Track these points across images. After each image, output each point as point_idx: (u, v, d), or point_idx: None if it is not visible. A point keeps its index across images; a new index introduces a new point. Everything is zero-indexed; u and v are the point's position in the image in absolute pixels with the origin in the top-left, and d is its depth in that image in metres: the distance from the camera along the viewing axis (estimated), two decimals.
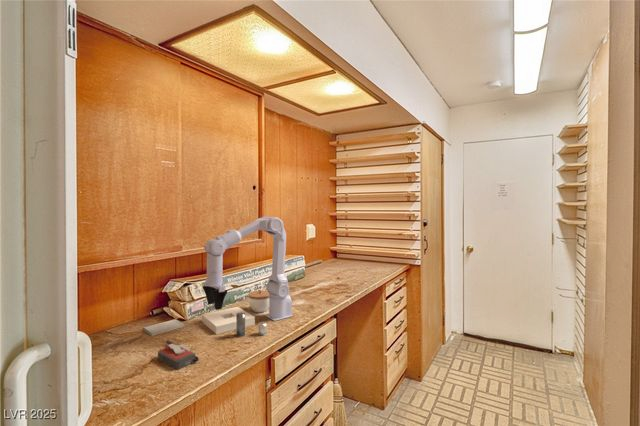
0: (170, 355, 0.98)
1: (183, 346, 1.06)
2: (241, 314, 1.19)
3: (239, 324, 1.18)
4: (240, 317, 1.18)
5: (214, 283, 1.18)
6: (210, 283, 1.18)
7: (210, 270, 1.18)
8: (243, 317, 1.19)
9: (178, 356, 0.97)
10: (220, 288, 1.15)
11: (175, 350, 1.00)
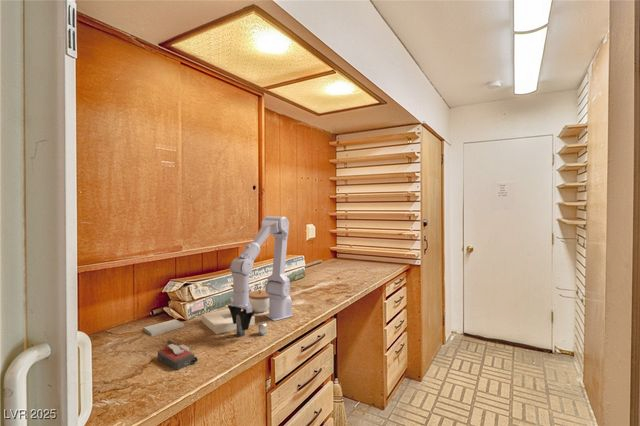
0: (169, 355, 0.98)
1: (183, 346, 1.06)
2: None
3: (239, 324, 1.18)
4: None
5: (241, 303, 1.17)
6: (237, 303, 1.17)
7: (240, 290, 1.16)
8: None
9: (177, 356, 0.97)
10: (248, 309, 1.13)
11: (174, 350, 0.99)
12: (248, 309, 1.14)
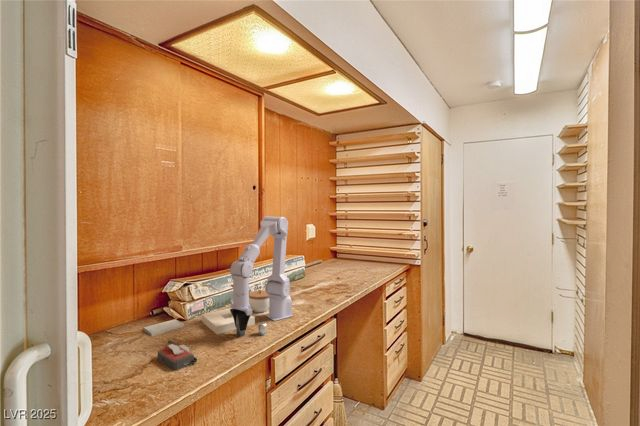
0: (169, 355, 0.98)
1: (183, 346, 1.05)
2: None
3: None
4: None
5: (241, 306, 1.17)
6: (237, 306, 1.17)
7: (240, 293, 1.16)
8: None
9: (176, 357, 0.97)
10: (248, 311, 1.14)
11: (174, 350, 0.99)
12: (248, 312, 1.14)
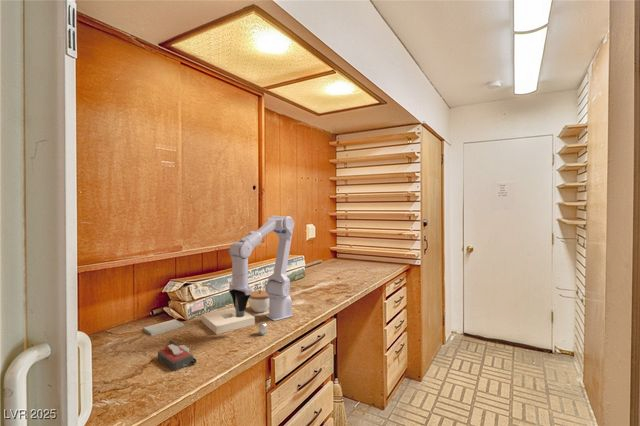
0: (168, 356, 0.98)
1: (183, 347, 1.05)
2: None
3: None
4: None
5: (240, 286, 1.17)
6: (236, 286, 1.17)
7: (238, 273, 1.17)
8: None
9: (176, 357, 0.97)
10: (247, 291, 1.14)
11: (174, 351, 0.99)
12: (247, 291, 1.14)
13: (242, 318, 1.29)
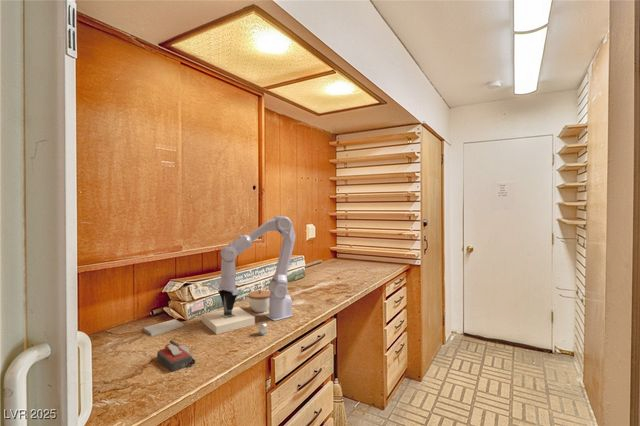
0: (167, 356, 0.98)
1: (183, 347, 1.05)
2: None
3: None
4: None
5: (228, 287, 1.28)
6: (224, 287, 1.28)
7: (223, 275, 1.28)
8: None
9: (174, 358, 0.96)
10: (234, 291, 1.25)
11: (173, 351, 0.99)
12: (234, 292, 1.25)
13: (242, 318, 1.29)
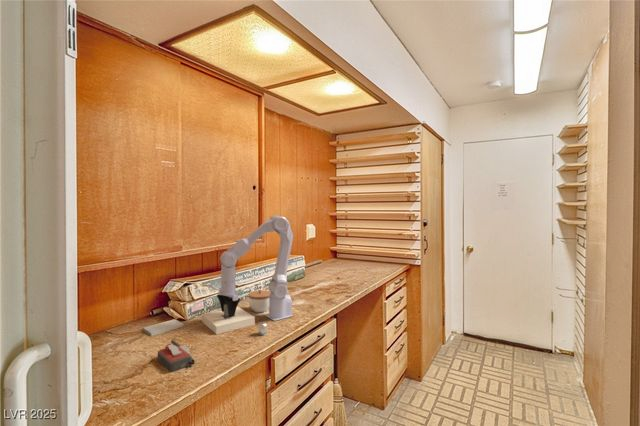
0: (167, 356, 0.97)
1: (184, 347, 1.05)
2: None
3: (226, 312, 1.30)
4: None
5: (228, 292, 1.28)
6: (224, 292, 1.28)
7: (222, 280, 1.28)
8: None
9: (174, 358, 0.96)
10: (234, 297, 1.25)
11: (173, 351, 0.99)
12: (234, 297, 1.25)
13: (242, 318, 1.29)
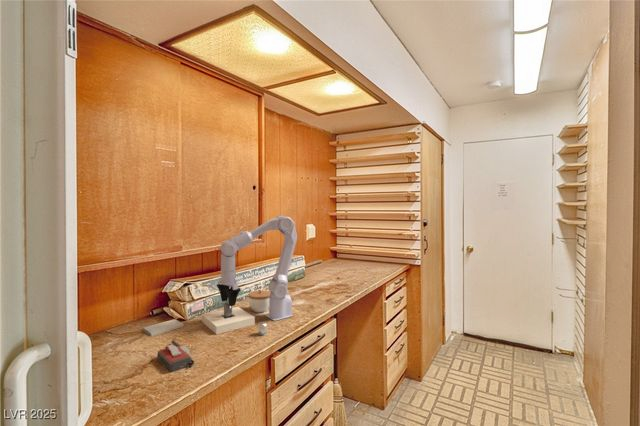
0: (167, 356, 0.97)
1: (184, 348, 1.05)
2: (228, 304, 1.31)
3: (226, 312, 1.30)
4: (227, 306, 1.30)
5: (228, 281, 1.28)
6: (224, 281, 1.28)
7: (223, 269, 1.28)
8: (230, 306, 1.30)
9: (173, 358, 0.96)
10: (234, 286, 1.25)
11: (172, 352, 0.99)
12: (234, 286, 1.25)
13: (242, 318, 1.29)
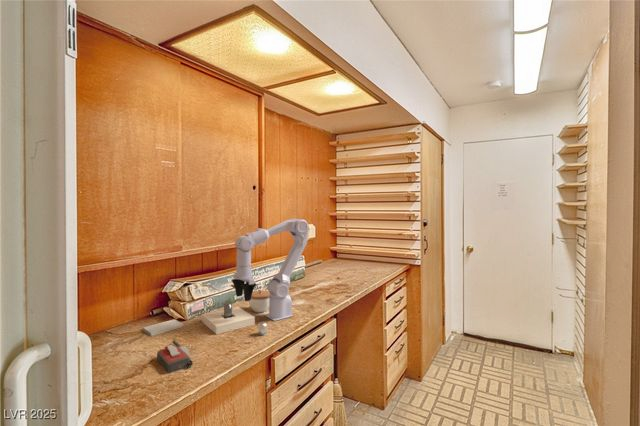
0: (166, 357, 0.97)
1: (183, 348, 1.04)
2: (228, 304, 1.31)
3: (226, 312, 1.30)
4: (227, 306, 1.30)
5: (244, 276, 1.28)
6: (240, 276, 1.28)
7: (239, 264, 1.28)
8: (230, 306, 1.30)
9: (172, 359, 0.96)
10: (250, 281, 1.25)
11: (171, 352, 0.98)
12: (250, 281, 1.25)
13: (242, 318, 1.29)
